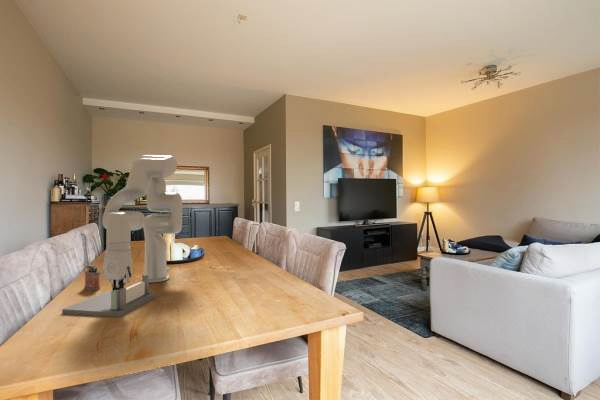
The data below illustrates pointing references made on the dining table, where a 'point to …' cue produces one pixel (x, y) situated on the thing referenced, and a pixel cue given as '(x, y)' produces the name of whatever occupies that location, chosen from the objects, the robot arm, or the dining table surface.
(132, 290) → the pale rectangular block
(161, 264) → the robot arm
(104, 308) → the base
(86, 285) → the lighter
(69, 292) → the dining table surface
